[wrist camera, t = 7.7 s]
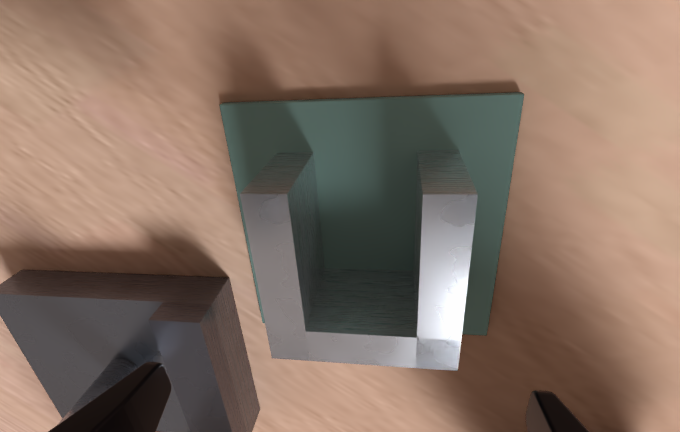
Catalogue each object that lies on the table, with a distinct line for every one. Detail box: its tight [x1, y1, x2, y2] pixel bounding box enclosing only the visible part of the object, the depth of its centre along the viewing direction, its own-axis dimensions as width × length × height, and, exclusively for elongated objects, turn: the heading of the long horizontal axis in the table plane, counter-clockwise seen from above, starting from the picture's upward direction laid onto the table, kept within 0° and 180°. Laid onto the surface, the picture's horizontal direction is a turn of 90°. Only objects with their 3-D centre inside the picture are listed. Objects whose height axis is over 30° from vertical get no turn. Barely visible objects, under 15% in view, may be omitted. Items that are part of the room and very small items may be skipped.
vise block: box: [0, 270, 260, 432], centre depth 18 cm, size 12×10×9 cm
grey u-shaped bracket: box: [240, 150, 478, 371], centre depth 15 cm, size 7×7×4 cm
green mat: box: [220, 92, 524, 336], centre depth 16 cm, size 11×11×1 cm
